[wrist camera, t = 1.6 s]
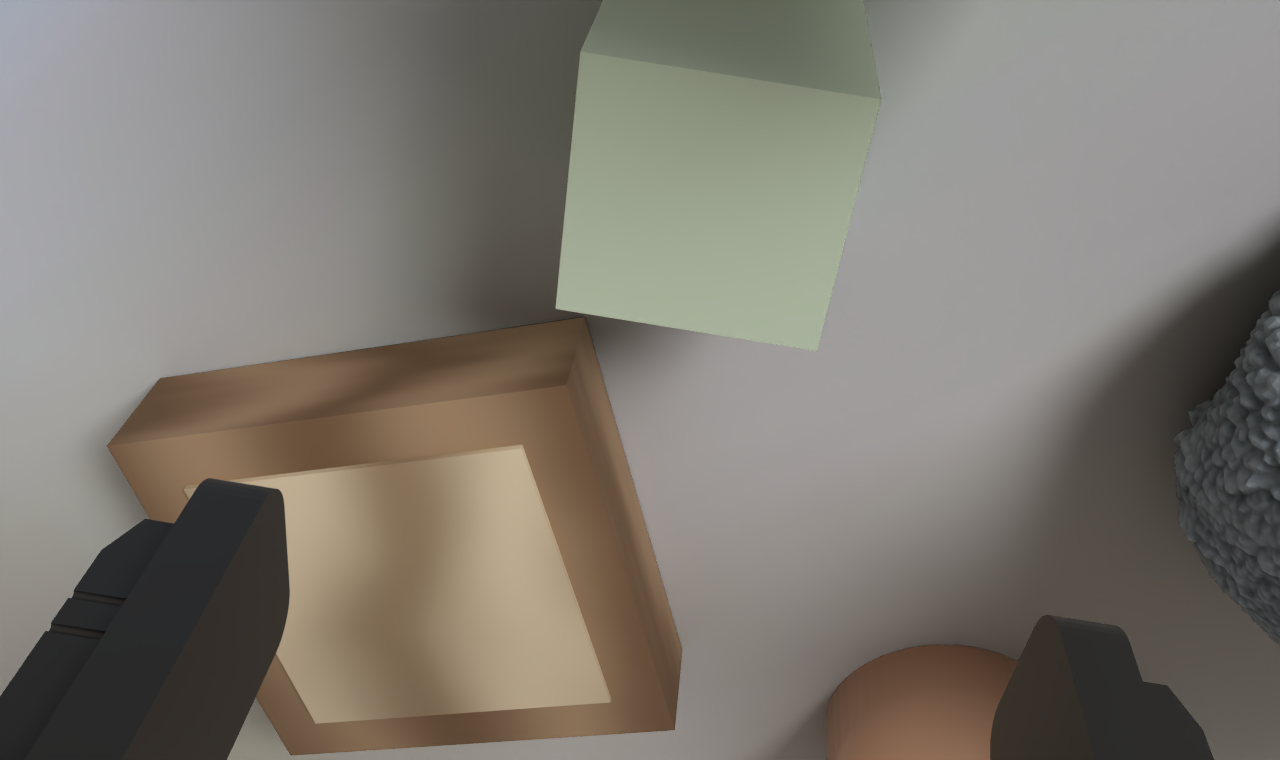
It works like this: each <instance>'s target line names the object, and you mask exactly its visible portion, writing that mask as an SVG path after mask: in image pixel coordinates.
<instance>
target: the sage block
mask: <svg viewBox="0 0 1280 760" xmlns="http://www.w3.org/2000/svg"><path fill="white" fill-rule="evenodd" d="M880 103H881V94H880V89H879V84H878V78H877V73H876V67H875V62H874V56H873V51H872V45H871V40H870V34H869V29H868V23H867V18H866V12H865V7H864V1H863V0H603V1H602V3H601V6H600V8H599V10H598V12H597V15H596V17H595V19H594V22H593V24H592V26H591V28H590V31H589V33H588V35H587V37H586V40H585V42H584V44H583V47H582V49H581V51H580V59H579V70H578V80H577V91H576V101H575V111H574V122H573V132H572V142H571V153H570V163H569V174H568V184H567V194H566V205H565V215H564V225H563V236H562V246H561V257H560V267H559V277H558V288H557V298H556V309H559V310H566V311H572V312H578V313H584V314H590V315H596V316H603V317H609V318H615V319H621V320H627V321H634V322H640V323H646V324H652V325H658V326H664V327H671V328H677V329H683V330H689V331H695V332H702V333H708V334H714V335H720V336H726V337H732V338H739V339H745V340H751V341H757V342H763V343H769V344H776V345H782V346H788V347H794V348H800V349H807V350H813V351H817V349H818V346H819V342H820V338H821V334H822V330H823V326H824V322H825V318H826V314H827V310H828V306H829V303H830V299H831V295H832V291H833V287H834V283H835V279H836V275H837V271H838V267H839V263H840V259H841V256H842V252H843V248H844V244H845V240H846V236H847V232H848V228H849V224H850V220H851V216H852V213H853V209H854V205H855V201H856V197H857V193H858V189H859V185H860V181H861V177H862V173H863V169H864V166H865V162H866V158H867V154H868V150H869V146H870V142H871V138H872V134H873V130H874V126H875V123H876V119H877V115H878V111H879V107H880Z"/></svg>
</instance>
